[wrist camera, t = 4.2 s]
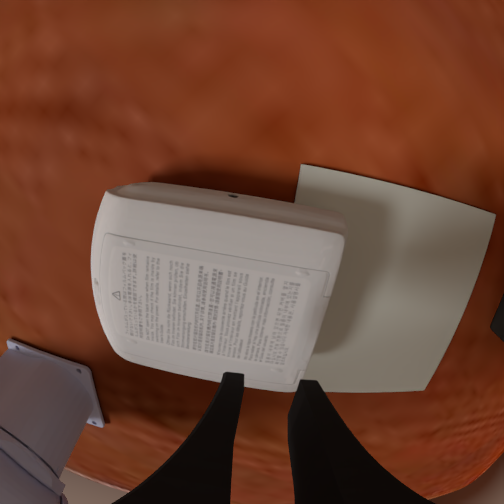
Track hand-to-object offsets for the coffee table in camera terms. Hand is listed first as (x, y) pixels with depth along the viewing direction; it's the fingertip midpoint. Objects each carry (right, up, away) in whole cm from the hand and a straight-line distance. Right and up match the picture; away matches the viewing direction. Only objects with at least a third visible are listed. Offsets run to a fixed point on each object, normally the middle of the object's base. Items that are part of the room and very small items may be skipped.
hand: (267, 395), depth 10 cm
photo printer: (+3, +2, +5) cm, 7 cm away
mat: (+8, +2, +8) cm, 11 cm away
